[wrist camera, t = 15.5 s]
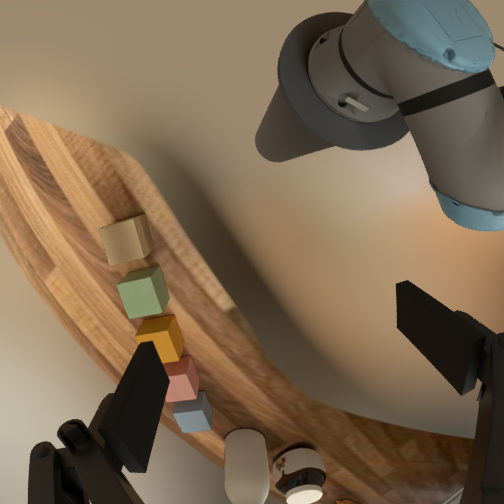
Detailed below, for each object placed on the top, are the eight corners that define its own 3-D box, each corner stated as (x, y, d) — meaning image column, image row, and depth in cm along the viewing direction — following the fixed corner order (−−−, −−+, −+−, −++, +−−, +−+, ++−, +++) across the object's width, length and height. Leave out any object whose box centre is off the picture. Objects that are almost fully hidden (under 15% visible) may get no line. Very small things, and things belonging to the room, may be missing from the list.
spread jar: (301, 437, 51) (311, 482, 40) (335, 453, 53) (348, 493, 42) (259, 464, 53) (263, 507, 41) (295, 478, 55) (302, 517, 44)
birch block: (144, 213, 39) (133, 218, 34) (154, 248, 40) (144, 257, 36) (113, 222, 39) (98, 228, 34) (123, 256, 40) (110, 266, 36)
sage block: (159, 265, 41) (150, 276, 36) (169, 298, 42) (162, 312, 37) (128, 272, 41) (116, 284, 36) (139, 304, 42) (129, 319, 37)
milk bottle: (225, 426, 49) (223, 516, 30) (266, 427, 49) (278, 515, 30) (224, 450, 51) (223, 532, 31) (262, 451, 51) (272, 532, 32)
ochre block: (174, 314, 43) (167, 330, 38) (184, 342, 44) (179, 360, 39) (143, 320, 43) (134, 336, 38) (155, 347, 44) (147, 365, 39)
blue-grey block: (204, 390, 47) (202, 410, 42) (213, 410, 48) (211, 430, 43) (176, 394, 47) (172, 413, 42) (186, 414, 48) (183, 433, 43)
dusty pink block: (190, 355, 45) (186, 374, 40) (199, 379, 46) (196, 399, 41) (161, 359, 45) (154, 378, 40) (171, 383, 46) (166, 402, 41)
